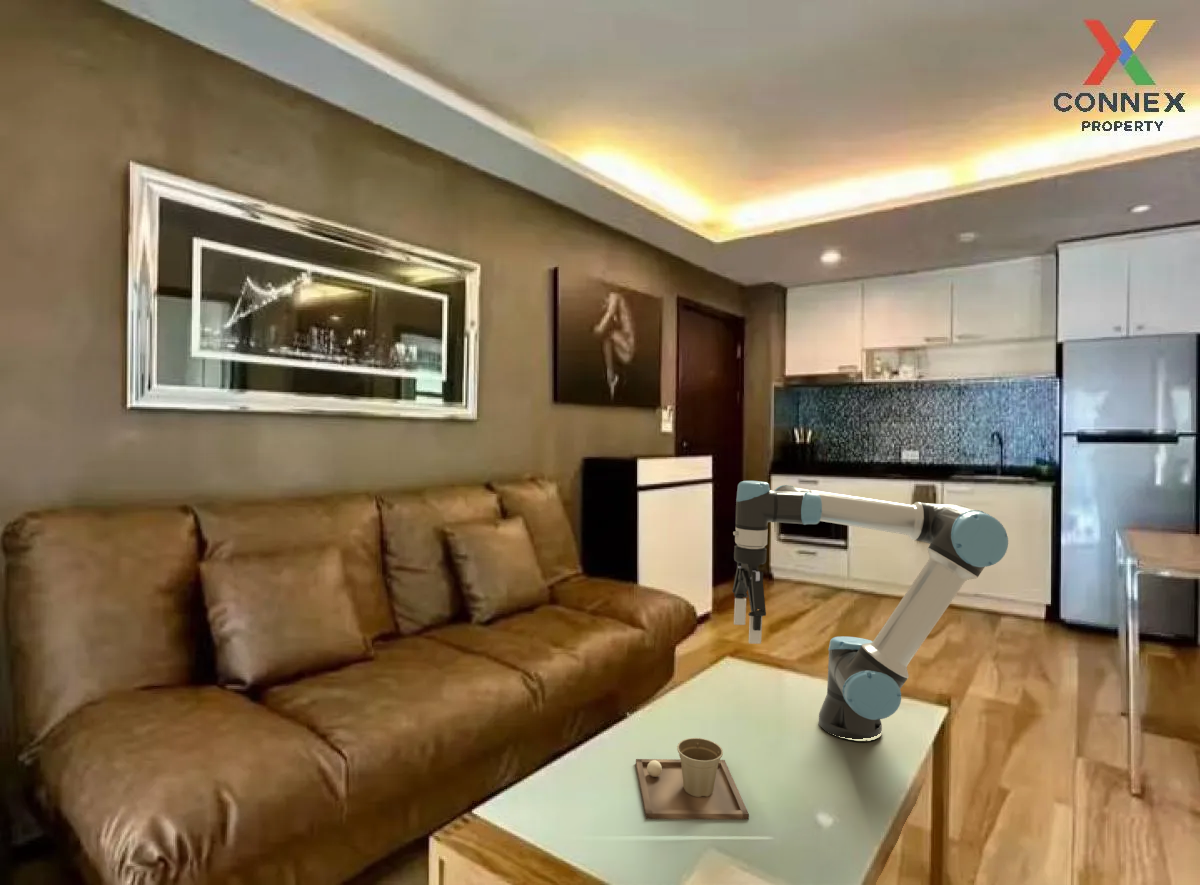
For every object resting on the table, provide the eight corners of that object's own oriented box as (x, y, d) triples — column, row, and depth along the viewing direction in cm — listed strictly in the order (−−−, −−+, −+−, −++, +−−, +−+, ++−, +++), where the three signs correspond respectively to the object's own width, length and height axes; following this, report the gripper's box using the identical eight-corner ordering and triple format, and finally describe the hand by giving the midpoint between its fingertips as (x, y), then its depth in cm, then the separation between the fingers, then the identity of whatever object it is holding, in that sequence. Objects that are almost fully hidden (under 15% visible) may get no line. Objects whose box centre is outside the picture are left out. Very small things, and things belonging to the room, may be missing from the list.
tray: (724, 766, 146) (724, 759, 146) (748, 821, 126) (748, 814, 126) (635, 765, 145) (635, 759, 145) (646, 821, 125) (646, 813, 125)
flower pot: (720, 806, 130) (722, 763, 130) (673, 798, 132) (675, 757, 132) (721, 780, 140) (723, 741, 139) (677, 774, 141) (679, 735, 141)
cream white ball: (660, 771, 142) (661, 757, 142) (662, 780, 139) (663, 765, 139) (645, 771, 142) (646, 757, 142) (647, 779, 139) (648, 765, 139)
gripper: (722, 535, 168) (719, 617, 169) (749, 556, 143) (745, 651, 144) (751, 536, 168) (748, 617, 169) (783, 557, 144) (778, 652, 144)
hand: (746, 633), depth 157 cm, fingers open, 13 cm apart
